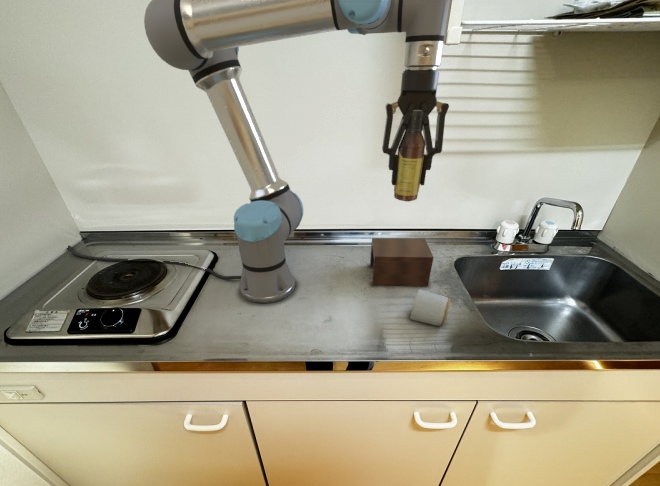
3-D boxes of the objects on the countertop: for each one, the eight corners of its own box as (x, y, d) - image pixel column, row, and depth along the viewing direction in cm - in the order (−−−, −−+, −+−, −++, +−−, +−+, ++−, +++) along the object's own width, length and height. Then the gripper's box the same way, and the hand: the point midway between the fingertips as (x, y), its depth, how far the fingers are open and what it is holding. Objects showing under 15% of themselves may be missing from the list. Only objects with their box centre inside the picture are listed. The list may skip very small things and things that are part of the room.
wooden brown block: (372, 285, 92) (374, 256, 86) (370, 265, 101) (371, 237, 96) (427, 286, 91) (433, 257, 86) (420, 265, 101) (424, 238, 95)
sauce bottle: (400, 193, 85) (412, 106, 73) (421, 198, 82) (437, 108, 70) (387, 199, 81) (397, 108, 69) (409, 204, 78) (423, 110, 66)
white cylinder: (442, 333, 75) (449, 307, 70) (408, 325, 77) (413, 299, 73) (447, 308, 83) (453, 283, 78) (416, 301, 85) (420, 277, 81)
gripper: (375, 69, 63) (369, 188, 76) (473, 68, 62) (450, 188, 75) (373, 69, 69) (368, 179, 82) (463, 68, 68) (443, 179, 81)
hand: (407, 183), depth 79 cm, fingers closed on sauce bottle, 6 cm apart
